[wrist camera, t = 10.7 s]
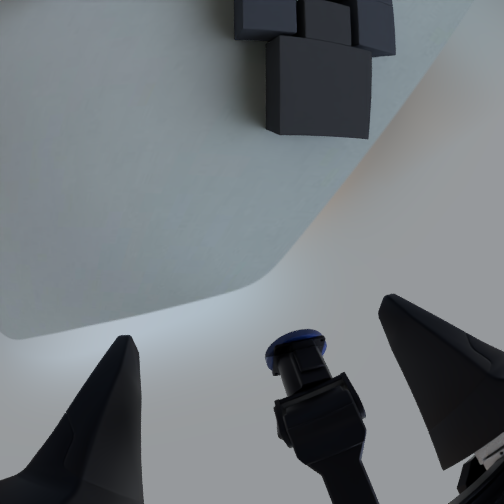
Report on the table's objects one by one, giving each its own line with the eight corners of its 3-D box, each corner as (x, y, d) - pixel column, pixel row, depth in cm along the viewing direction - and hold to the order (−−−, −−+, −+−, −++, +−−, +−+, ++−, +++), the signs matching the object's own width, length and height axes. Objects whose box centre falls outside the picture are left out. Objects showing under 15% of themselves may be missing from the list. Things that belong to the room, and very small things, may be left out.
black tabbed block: (346, 20, 13) (370, 12, 10) (345, 131, 18) (368, 139, 15) (264, 6, 12) (278, -8, 9) (265, 129, 17) (279, 135, 14)
